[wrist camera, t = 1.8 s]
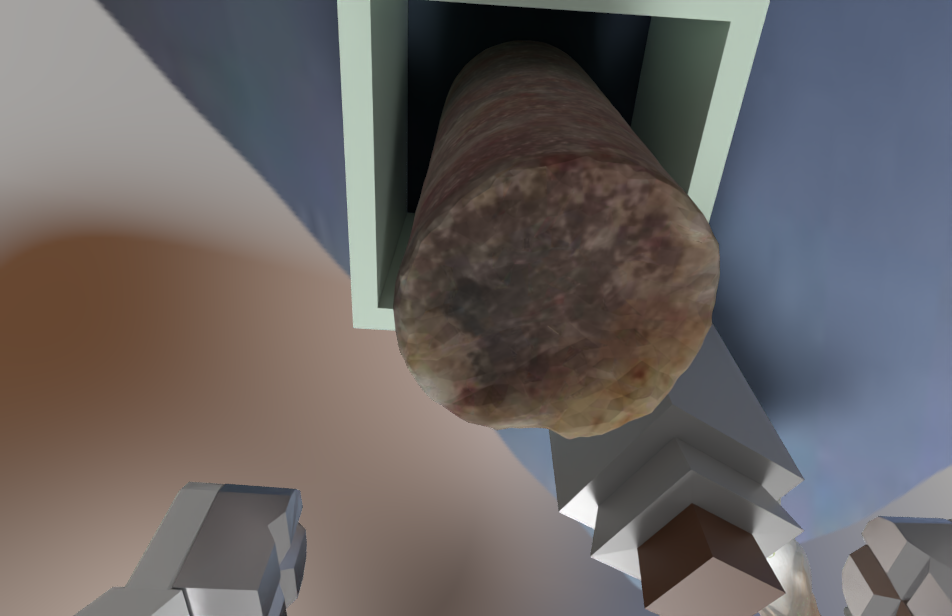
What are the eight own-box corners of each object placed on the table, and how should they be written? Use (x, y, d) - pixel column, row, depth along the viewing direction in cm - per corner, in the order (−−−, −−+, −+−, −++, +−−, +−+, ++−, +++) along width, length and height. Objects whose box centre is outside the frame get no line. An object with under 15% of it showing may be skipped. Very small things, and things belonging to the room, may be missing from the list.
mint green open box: (682, -27, 27) (773, -14, 18) (626, 244, 33) (674, 347, 25) (385, -49, 27) (335, -44, 18) (388, 228, 33) (353, 327, 25)
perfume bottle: (609, 244, 33) (711, 503, 18) (700, 303, 35) (865, 584, 20) (537, 331, 36) (571, 616, 21) (624, 381, 38) (716, 678, 23)
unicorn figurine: (763, 549, 46) (854, 750, 35) (597, 405, 39) (642, 596, 28) (852, 503, 43) (983, 704, 32) (690, 340, 37) (782, 522, 25)
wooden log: (489, -2, 27) (488, 90, 10) (626, 77, 29) (825, 271, 12) (419, 149, 31) (332, 405, 14) (545, 211, 33) (607, 511, 15)
